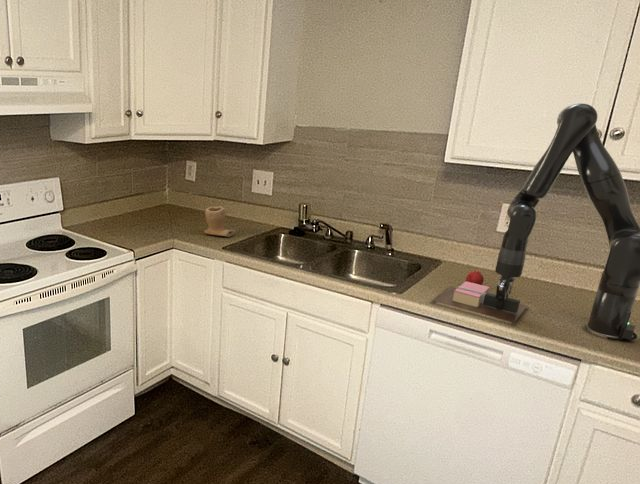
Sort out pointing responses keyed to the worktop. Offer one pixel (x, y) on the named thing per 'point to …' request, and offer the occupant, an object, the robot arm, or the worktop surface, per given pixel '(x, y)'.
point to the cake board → (479, 307)
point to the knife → (491, 300)
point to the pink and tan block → (467, 297)
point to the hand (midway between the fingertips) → (500, 307)
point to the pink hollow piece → (217, 222)
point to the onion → (475, 277)
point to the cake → (476, 287)
